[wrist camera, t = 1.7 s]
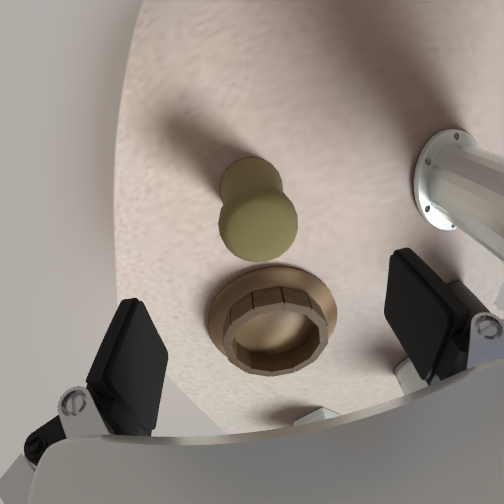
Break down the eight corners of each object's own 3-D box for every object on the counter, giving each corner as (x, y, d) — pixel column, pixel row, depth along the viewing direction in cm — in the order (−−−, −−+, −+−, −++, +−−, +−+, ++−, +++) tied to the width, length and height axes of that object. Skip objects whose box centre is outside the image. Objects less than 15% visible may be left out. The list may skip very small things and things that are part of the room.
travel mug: (387, 378, 43) (424, 468, 26) (405, 353, 40) (452, 448, 23) (411, 375, 44) (449, 457, 26) (428, 352, 41) (475, 437, 24)
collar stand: (356, 285, 33) (368, 305, 29) (302, 369, 40) (307, 389, 36) (229, 250, 30) (229, 269, 26) (196, 350, 36) (194, 372, 33)
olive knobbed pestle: (279, 218, 28) (301, 278, 19) (218, 215, 28) (209, 275, 18) (285, 159, 26) (316, 189, 16) (221, 155, 25) (210, 182, 15)
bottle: (449, 274, 33) (530, 369, 16) (469, 285, 35) (540, 369, 17) (424, 311, 36) (490, 412, 18) (446, 318, 38) (506, 406, 20)
